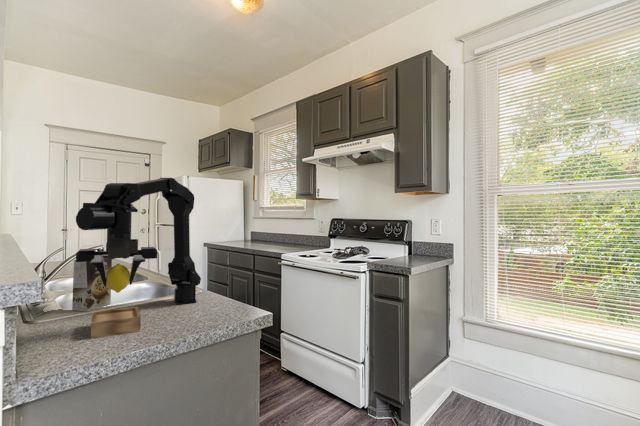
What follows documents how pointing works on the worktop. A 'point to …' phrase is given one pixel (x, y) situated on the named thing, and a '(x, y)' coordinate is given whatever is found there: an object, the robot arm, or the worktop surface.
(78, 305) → the cookie box
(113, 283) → the lemon
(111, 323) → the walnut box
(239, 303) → the worktop surface
